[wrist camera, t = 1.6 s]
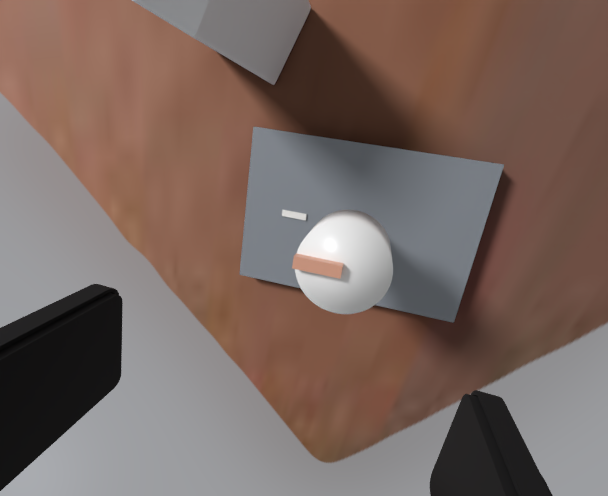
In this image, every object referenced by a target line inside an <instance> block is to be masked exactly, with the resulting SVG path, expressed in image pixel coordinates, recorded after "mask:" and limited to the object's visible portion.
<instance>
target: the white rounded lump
mask: <svg viewBox="0 0 608 496" xmlns="http://www.w3.org/2000/svg"><path fill="white" fill-rule="evenodd" d="M292 268H293V269H295V273H296V278H297V281H298V284H299V286H300V288H301V289H302V291H303V292H304V294H305V295H306V296H307V297H308V298H309V299H310V300H311V301H312V302H313V303H314V304H316V305H317V306H319V307H321V308H322V309H325V310H327V311H330V312H333V313H339V314H353V313H358V312H362V311H365V310H367V309H369V308H371V307H372V306H374V305H375V304H377V303H378V302H379V301H380V300H381V299H382V298H383V297H384V295H385V294H386V292H387V291H388V289H389V287H390V284H391V281H392V276H393V262H392V254H391V245H390V240H389V237H388V235H387V233H386V231H385V229H384V228H383V226H382V225H381V224H380V223H379V222H378V221H377V220H376V219H374V218H373V217H372V216H370V215H368V214H366V213H364V212H361V211H357V210H339V211H336V212H333V213H330V214H328V215H327V216H325V217H323V218H322V219H321V220H320V221H319V222H318V223H317V224H316V225H315V226H314V227H313V229H312V230H311V231H310V232H309V233H308V235H307V236H306V237H305V238H304V240H303V241H302V242H301V244H300V246H299V248H298V251H297V253H296V254H295V255H294V258H293V265H292Z"/></svg>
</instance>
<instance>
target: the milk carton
mask: <svg viewBox="0 0 608 496" xmlns="http://www.w3.org/2000/svg"><path fill="white" fill-rule="evenodd" d="M132 1H134V2H135V3H137V4H139V5H140V6H142V7H144V8H145V9H147V10H149V11H150V12H152V13H154V14H155V15H157V16H158V17H160V18H162V19H163V20H165V21H167V22H168V23H170V24H172V25H173V26H175V27H177V28H178V29H180V30H181V31H183V32H185V33H186V34H188V35H190V36H191V37H193V38H195V39H196V40H198V41H200V42H201V43H203V44H205V45H206V46H208V47H210V48H212V49H213V50H215V51H217V52H218V53H220V54H222V55H223V56H225V57H227V58H228V59H230V60H232V61H233V62H235V63H237V64H238V65H240V66H242V67H243V68H245V69H247V70H248V71H250V72H252V73H254V74H255V75H257V76H259V77H260V78H262V79H264V80H265V81H267V82H269V83H270V84H272V85H274V84H275V83H276V81H277V79H278V77H279V75H280V73H281V71H282V69H283V67H284V64H285V62H286V60H287V58H288V56H289V54H290V52H291V50H292V48H293V46H294V44H295V42H296V39H297V37H298V35H299V33H300V31H301V29H302V27H303V25H304V23H305V21H306V19H307V16H308V14H309V12H310V10H311V6H310V3H309V1H308V0H132Z"/></svg>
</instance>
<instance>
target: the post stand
mask: <svg viewBox="0 0 608 496" xmlns="http://www.w3.org/2000/svg"><path fill="white" fill-rule="evenodd" d="M503 167H504V165H503V164H496V163H490V162H483V161H476V160H470V159H463V158H457V157H450V156H444V155H437V154H431V153H424V152H417V151H411V150H404V149H398V148H391V147H385V146H378V145H371V144H365V143H358V142H352V141H345V140H339V139H332V138H325V137H319V136H312V135H306V134H299V133H293V132H286V131H279V130H273V129H266V128H260V127H253V138H252V148H251V159H250V170H249V180H248V191H247V201H246V212H245V223H244V233H243V244H242V254H241V265H240V275H244V276H248V277H252V278H257V279H261V280H266V281H270V282H275V283H279V284H284V285H288V286H292V287H297V288H300V286H299V284H298V281H297V278H296V273H295V269H293V268H292V265H293V258H294V255H295V254H296V253H297V251H298V248H299V246H300V244H301V242H302V241H303V240H304V238H305V237H306V236H307V235H308V233H309V232H310V231H311V230H312V229H313V227H314V226H315V225H316V224H317V223H318V222H319V221H320V220H321V219H322V218H323V217H325V216H327V215H328V214H330V213H333V212H336V211H339V210H357V211H361V212H364V213H366V214H368V215H370V216H372V217H373V218H374V219H376V220H377V221H378V222H379V223H380V224H381V225H382V226H383V228H384V229H385V231H386V233H387V235H388V237H389V240H390V245H391V254H392V262H393V276H392V281H391V284H390V287H389V289H388V291H387V292H386V294H385V295H384V297H383V298H382V299H381V300H380V301H379V302H378V303H377V304H375V305H377V306H381V307H386V308H390V309H395V310H399V311H404V312H408V313H413V314H417V315H421V316H426V317H430V318H435V319H439V320H444V321H448V322H453V323H454V321H455V317H456V314H457V311H458V308H459V305H460V302H461V299H462V295H463V292H464V289H465V286H466V283H467V280H468V277H469V273H470V270H471V267H472V264H473V261H474V258H475V255H476V252H477V248H478V245H479V242H480V239H481V236H482V233H483V230H484V226H485V223H486V220H487V217H488V214H489V211H490V208H491V204H492V201H493V198H494V195H495V192H496V189H497V186H498V182H499V179H500V176H501V173H502V170H503Z"/></svg>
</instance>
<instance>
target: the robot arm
mask: <svg viewBox="0 0 608 496" xmlns="http://www.w3.org/2000/svg"><path fill="white" fill-rule="evenodd" d="M121 345H122V298H121V296H119V293H118V291H117V290H116V289H113V288H109V287H106V286H103V285H99V284H93V285H90V286H88V287H86V288H84V289H82V290H80V291H78V292H75V293H73V294H71V295H69V296H67V297H65V298H63V299H61V300H59V301H56V302H54V303H52V304H50V305H48V306H46V307H44V308H42V309H40V310H38V311H36V312H33V313H31V314H29V315H27V316H25V317H23V318H21V319H18V320H16V321H14V322H12V323H10V324H8V325H6V326H4V327H1V328H0V491H1V490H2V489H3V488H4V487H5V486H6V485H8V484H9V483H10V482H11V481H12V480H13V479H14V478H15V477H16V476H17V475H19V474H20V473H21V472H22V471H23V470H24V469H25V468H26V467H27V466H28V465H30V464H31V463H32V462H33V461H34V460H35V459H36V458H37V457H38V456H40V455H41V454H42V453H43V452H44V451H45V450H46V449H47V448H48V447H50V446H51V445H52V444H53V443H54V442H55V441H56V440H57V439H58V438H59V437H61V436H62V435H63V434H64V433H65V432H66V431H67V430H68V429H69V428H70V427H72V426H73V425H74V424H75V423H76V422H77V421H78V420H79V419H80V418H82V417H83V416H84V415H85V414H86V413H87V412H88V411H89V410H90V409H91V408H93V407H94V406H95V405H96V404H97V403H98V402H99V401H100V400H101V399H103V398H104V397H105V396H106V395H107V394H108V393H109V392H110V391H111V390H113V389H114V388H115V386H116V385H117V384H118V382H119V380H120V377H121V349H122V346H121ZM430 494H431V496H552V494H551V492H550V490H549V488H548V486H547V484H546V482H545V480H544V478H543V477H542V475H541V474H540V472H539V470H538V469H537V466H536V465H535V462H534V460H533V458H532V456H531V454H530V452H529V450H528V448H527V446H526V444H525V442H524V440H523V438H522V436H521V434H520V432H519V430H518V428H517V426H516V424H515V422H514V420H513V418H512V416H511V414H510V412H509V410H508V408H507V406H506V404H505V402H504V401H503V399H502V398H500V397H498V396H495V395H491V394H488V393H484V392H480V391H477V390H475V391H473V392H472V393H471V395H468V394H465V395H464V396H463V397H462V400H461V402H460V405H459V407H458V409H457V412H456V415H455V417H454V420H453V422H452V425H451V427H450V429H449V432H448V434H447V437H446V439H445V442H444V444H443V447H442V449H441V452H440V454H439V457H438V459H437V462H436V464H435V467H434V469H433V471H432V474H431V479H430Z"/></svg>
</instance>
